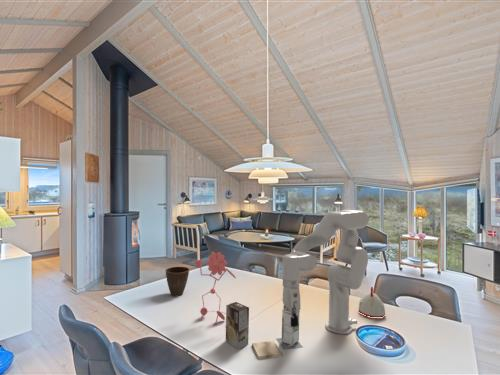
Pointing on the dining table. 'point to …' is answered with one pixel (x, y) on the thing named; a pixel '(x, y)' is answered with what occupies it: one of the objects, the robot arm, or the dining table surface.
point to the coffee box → (237, 324)
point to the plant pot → (177, 279)
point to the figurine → (215, 265)
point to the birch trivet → (266, 349)
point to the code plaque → (288, 346)
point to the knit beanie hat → (371, 305)
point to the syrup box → (289, 328)
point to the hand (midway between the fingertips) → (290, 321)
